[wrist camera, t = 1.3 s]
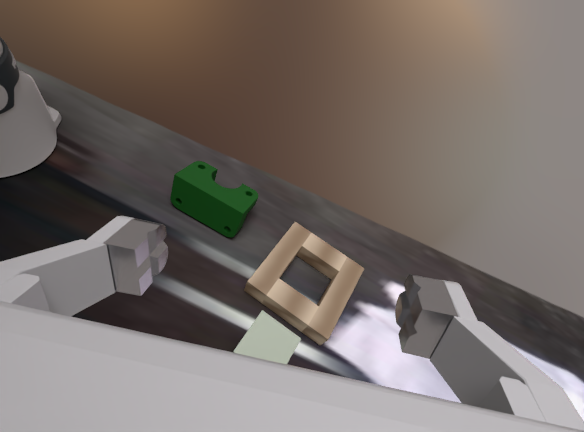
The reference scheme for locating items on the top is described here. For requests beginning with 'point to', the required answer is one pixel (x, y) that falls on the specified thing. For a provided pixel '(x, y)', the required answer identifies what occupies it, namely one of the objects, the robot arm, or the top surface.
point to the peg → (268, 340)
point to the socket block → (289, 301)
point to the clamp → (211, 199)
